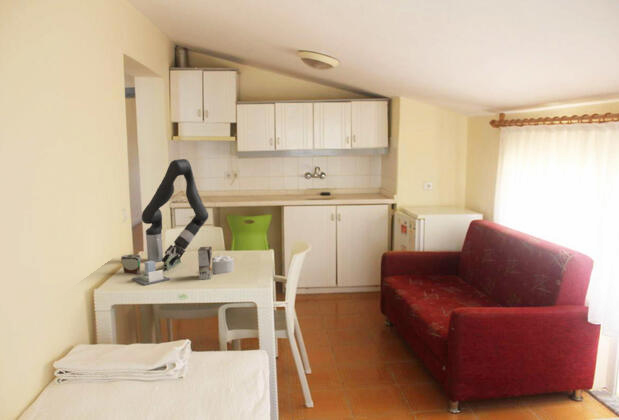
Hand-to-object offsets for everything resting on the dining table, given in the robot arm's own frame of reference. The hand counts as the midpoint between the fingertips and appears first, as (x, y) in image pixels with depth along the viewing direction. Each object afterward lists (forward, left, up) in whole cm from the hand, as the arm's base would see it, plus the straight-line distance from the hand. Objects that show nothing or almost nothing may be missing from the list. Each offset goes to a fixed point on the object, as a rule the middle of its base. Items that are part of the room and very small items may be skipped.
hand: (166, 262), depth 267 cm
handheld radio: (-17, +11, -8) cm, 22 cm away
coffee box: (+17, +14, -8) cm, 24 cm away
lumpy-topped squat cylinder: (+13, +27, -8) cm, 31 cm away
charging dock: (0, -10, -8) cm, 12 cm away
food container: (-22, -9, -8) cm, 25 cm away
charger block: (0, -10, -7) cm, 12 cm away
